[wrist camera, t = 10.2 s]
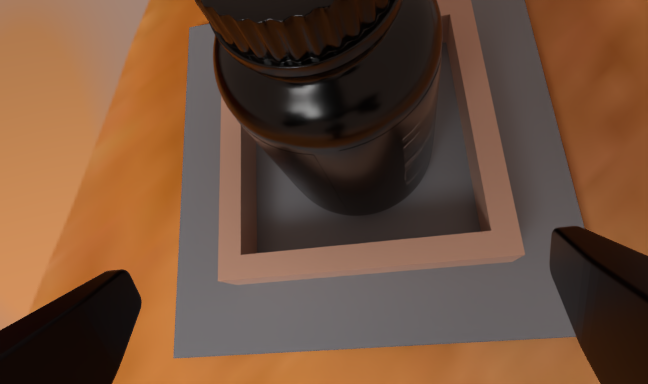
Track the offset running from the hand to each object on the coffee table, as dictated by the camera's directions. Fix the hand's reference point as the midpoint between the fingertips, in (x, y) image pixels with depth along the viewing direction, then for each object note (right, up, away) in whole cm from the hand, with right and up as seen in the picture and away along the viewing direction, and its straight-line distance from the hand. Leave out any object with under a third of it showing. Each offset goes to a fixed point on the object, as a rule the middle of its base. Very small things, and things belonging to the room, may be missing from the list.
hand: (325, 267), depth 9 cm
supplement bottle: (+2, +3, +11) cm, 12 cm away
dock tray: (+2, +3, +12) cm, 12 cm away
